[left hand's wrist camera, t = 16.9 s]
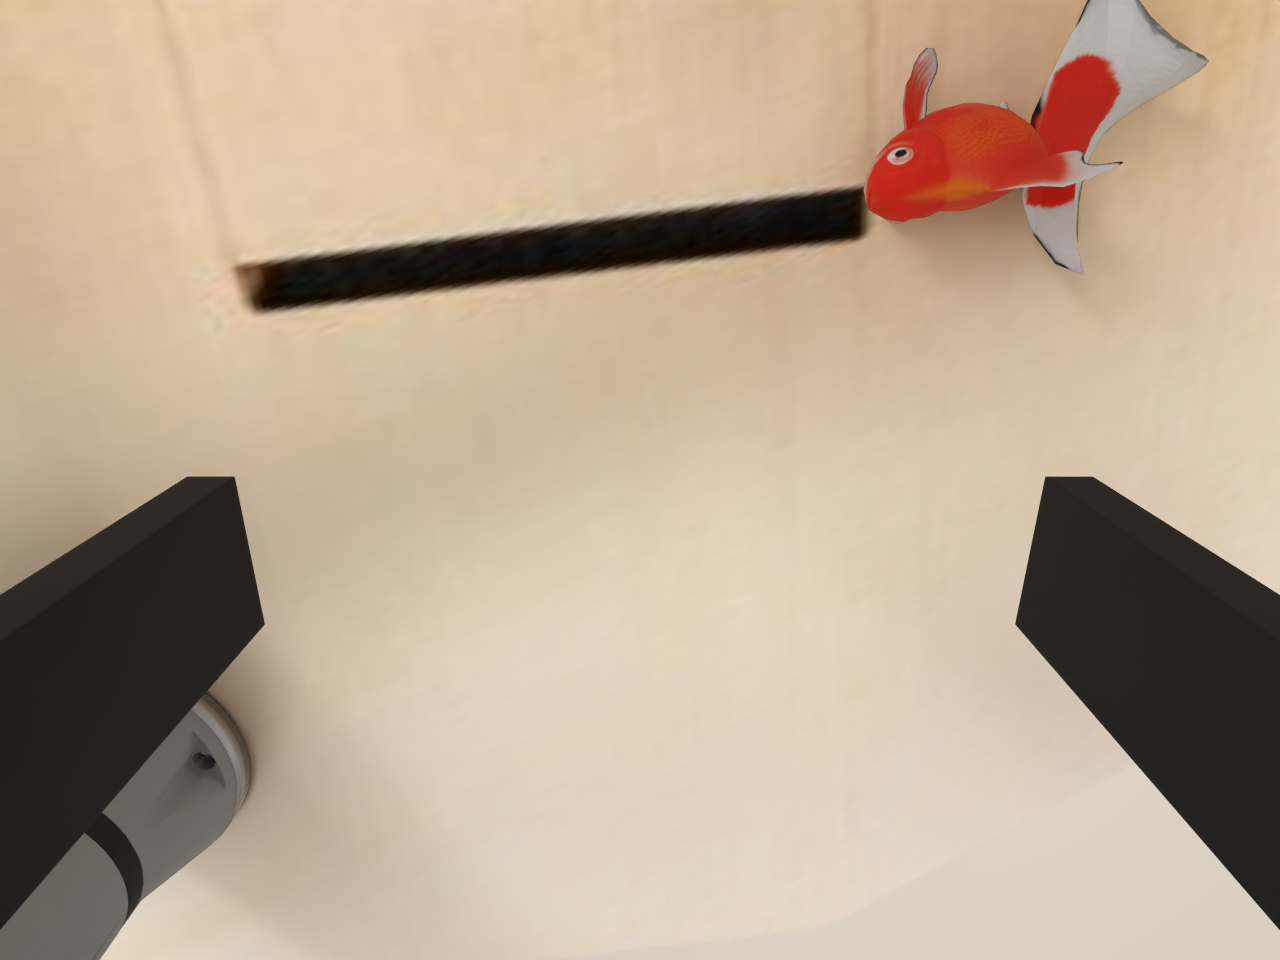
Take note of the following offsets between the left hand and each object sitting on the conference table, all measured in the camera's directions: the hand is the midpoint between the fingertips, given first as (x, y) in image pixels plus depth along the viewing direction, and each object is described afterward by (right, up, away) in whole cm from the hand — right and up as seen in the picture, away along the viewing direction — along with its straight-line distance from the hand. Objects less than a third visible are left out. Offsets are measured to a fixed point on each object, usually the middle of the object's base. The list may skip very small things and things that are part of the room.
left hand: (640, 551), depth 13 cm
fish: (+17, +18, +24) cm, 34 cm away
